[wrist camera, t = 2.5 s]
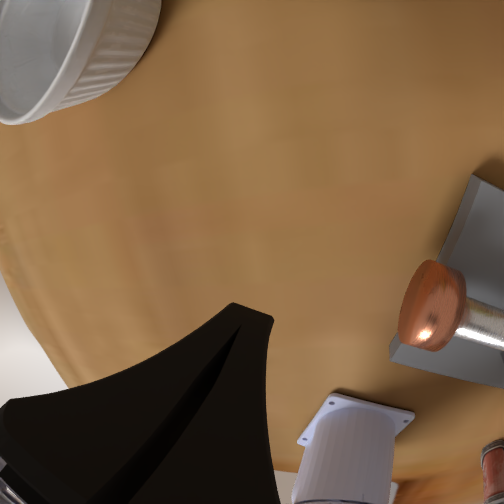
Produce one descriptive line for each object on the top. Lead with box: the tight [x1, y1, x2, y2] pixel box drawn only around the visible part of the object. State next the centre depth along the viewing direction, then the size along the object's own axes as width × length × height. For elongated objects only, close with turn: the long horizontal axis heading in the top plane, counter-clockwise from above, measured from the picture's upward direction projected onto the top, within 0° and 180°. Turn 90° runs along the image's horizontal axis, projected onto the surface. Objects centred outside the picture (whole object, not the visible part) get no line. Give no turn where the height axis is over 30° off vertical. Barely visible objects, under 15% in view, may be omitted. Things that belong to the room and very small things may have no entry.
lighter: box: [481, 440, 504, 504], centre depth 16 cm, size 8×3×10 cm, turn 37°
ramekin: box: [0, 0, 162, 125], centre depth 12 cm, size 13×13×7 cm
